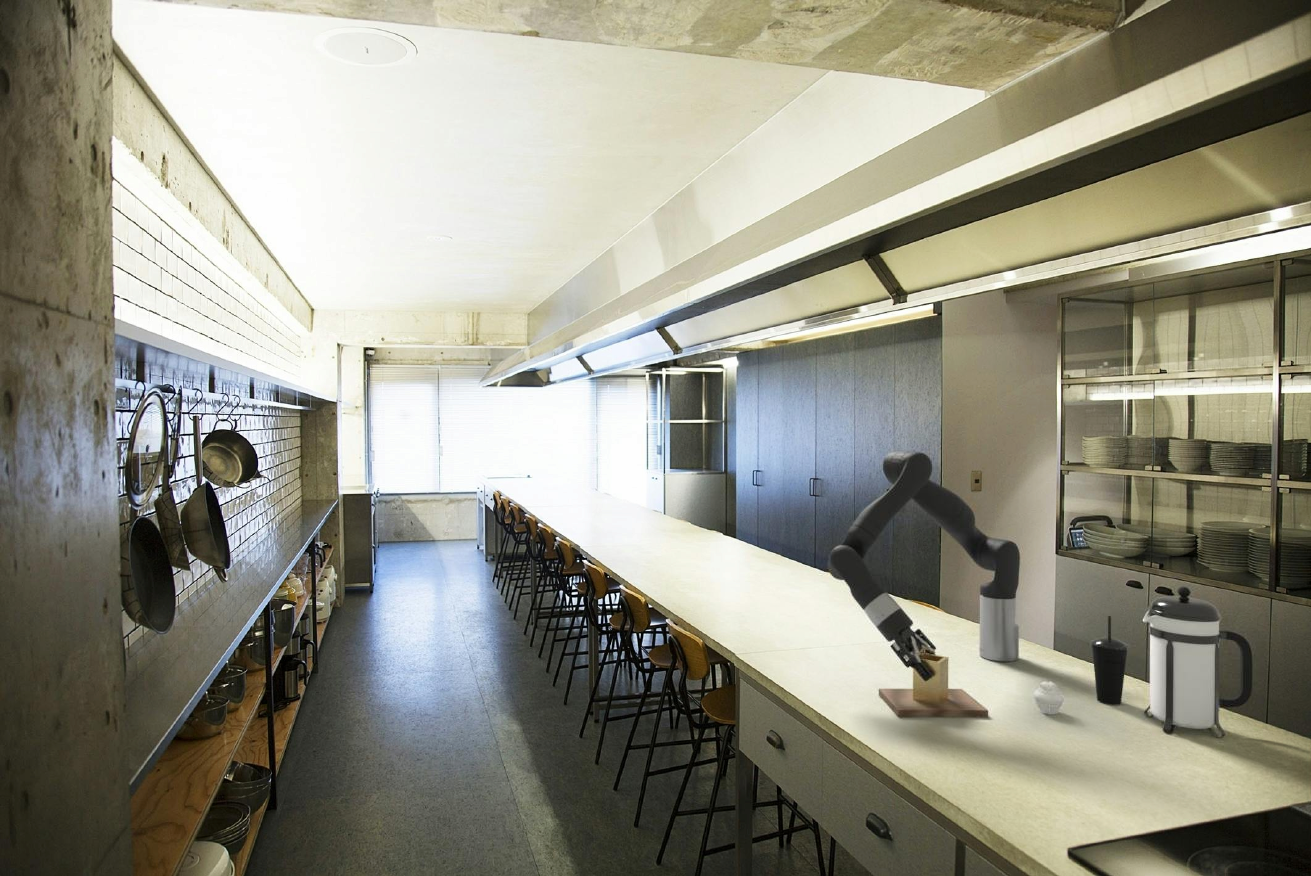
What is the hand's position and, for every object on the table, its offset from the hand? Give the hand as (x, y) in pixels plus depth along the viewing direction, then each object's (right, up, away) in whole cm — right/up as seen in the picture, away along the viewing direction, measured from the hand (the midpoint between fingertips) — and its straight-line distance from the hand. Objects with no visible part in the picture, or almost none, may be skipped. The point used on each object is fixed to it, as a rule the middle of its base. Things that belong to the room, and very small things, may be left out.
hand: (936, 674), depth 171 cm
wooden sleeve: (-1, -6, +1) cm, 6 cm away
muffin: (+24, -8, -3) cm, 26 cm away
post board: (-1, -7, +1) cm, 7 cm away
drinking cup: (+42, -8, +4) cm, 43 cm away
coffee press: (+50, -8, -11) cm, 52 cm away
